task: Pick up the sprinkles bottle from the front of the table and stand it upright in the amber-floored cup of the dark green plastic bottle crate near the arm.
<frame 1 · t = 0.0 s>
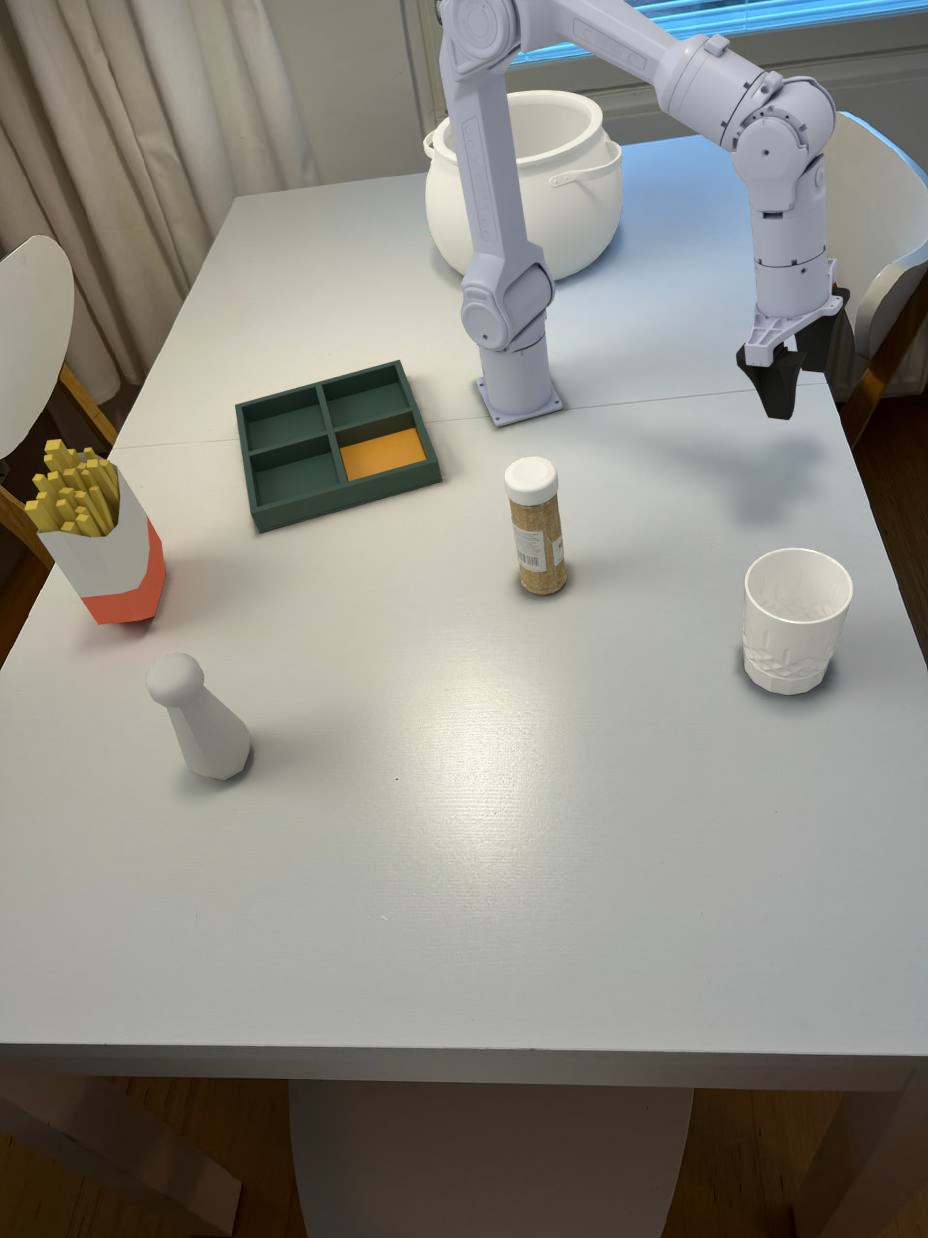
hand: (797, 392, 86), 11 cm above the table, tool pointing down, fingers open, 7 cm apart
french fries container: (143, 599, 96), on the table
sprinkles bottle: (543, 580, 90), on the table
white cup: (783, 665, 80), on the table
crate: (336, 451, 107), on the table
salt shaker: (226, 761, 82), on the table
pot: (528, 248, 131), on the table
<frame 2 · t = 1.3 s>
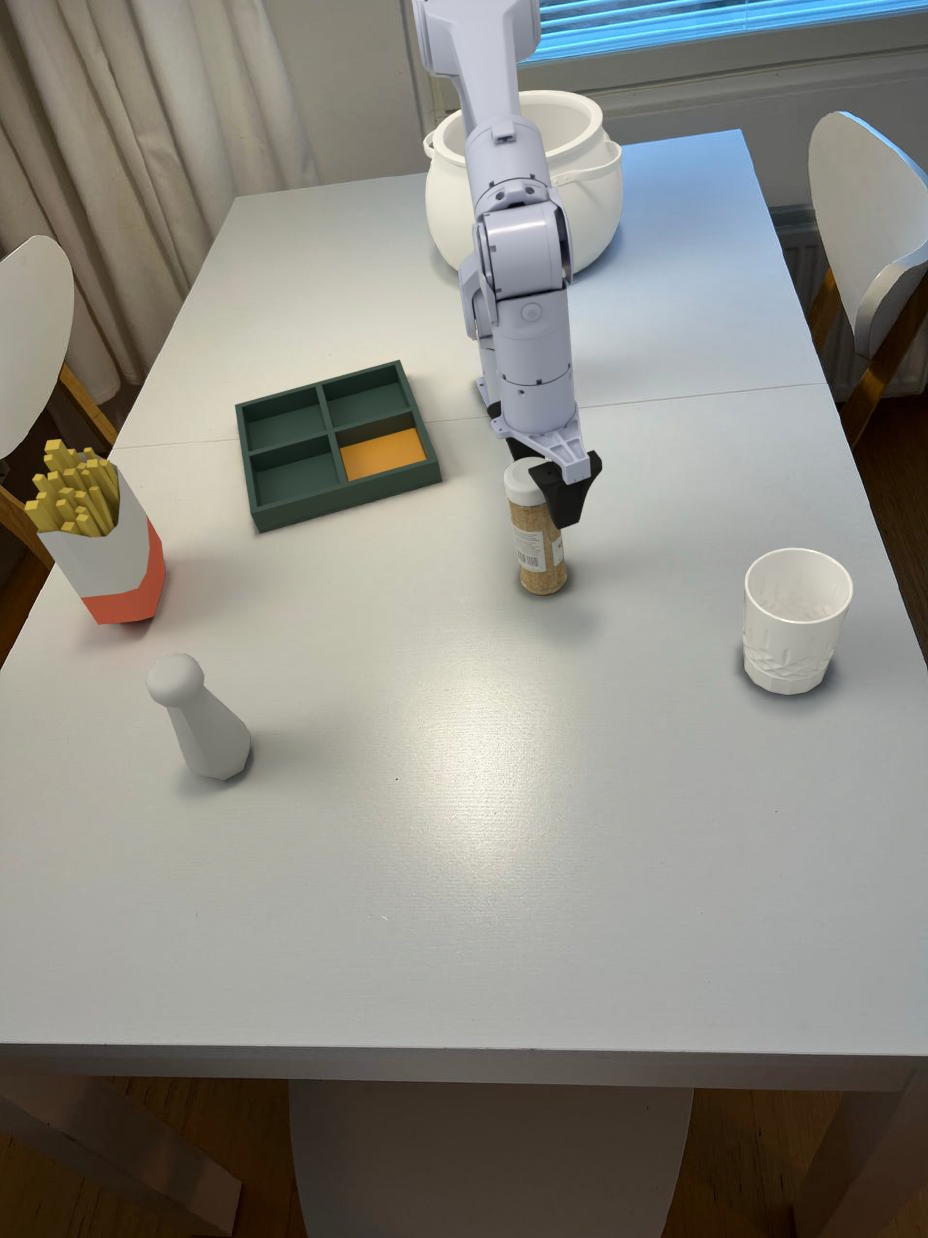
hand: (548, 497, 82), 10 cm above the table, tool pointing down, fingers open, 7 cm apart
nothing on the table moved.
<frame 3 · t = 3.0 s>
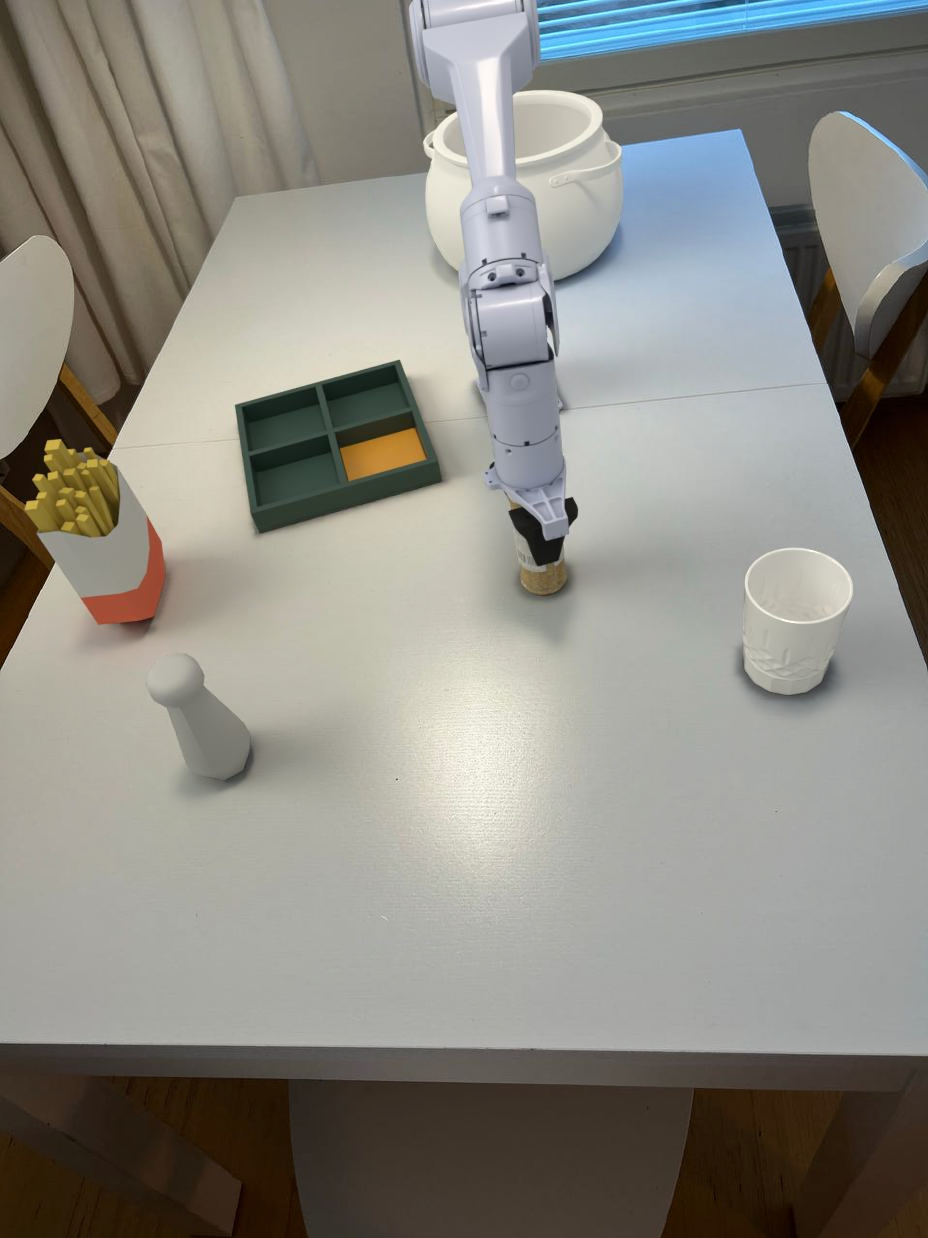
hand: (539, 542, 86), 5 cm above the table, tool pointing down, fingers closed on sprinkles bottle, 4 cm apart
sprinkles bottle: (543, 580, 90), on the table, touching gripper
everything else where it was.
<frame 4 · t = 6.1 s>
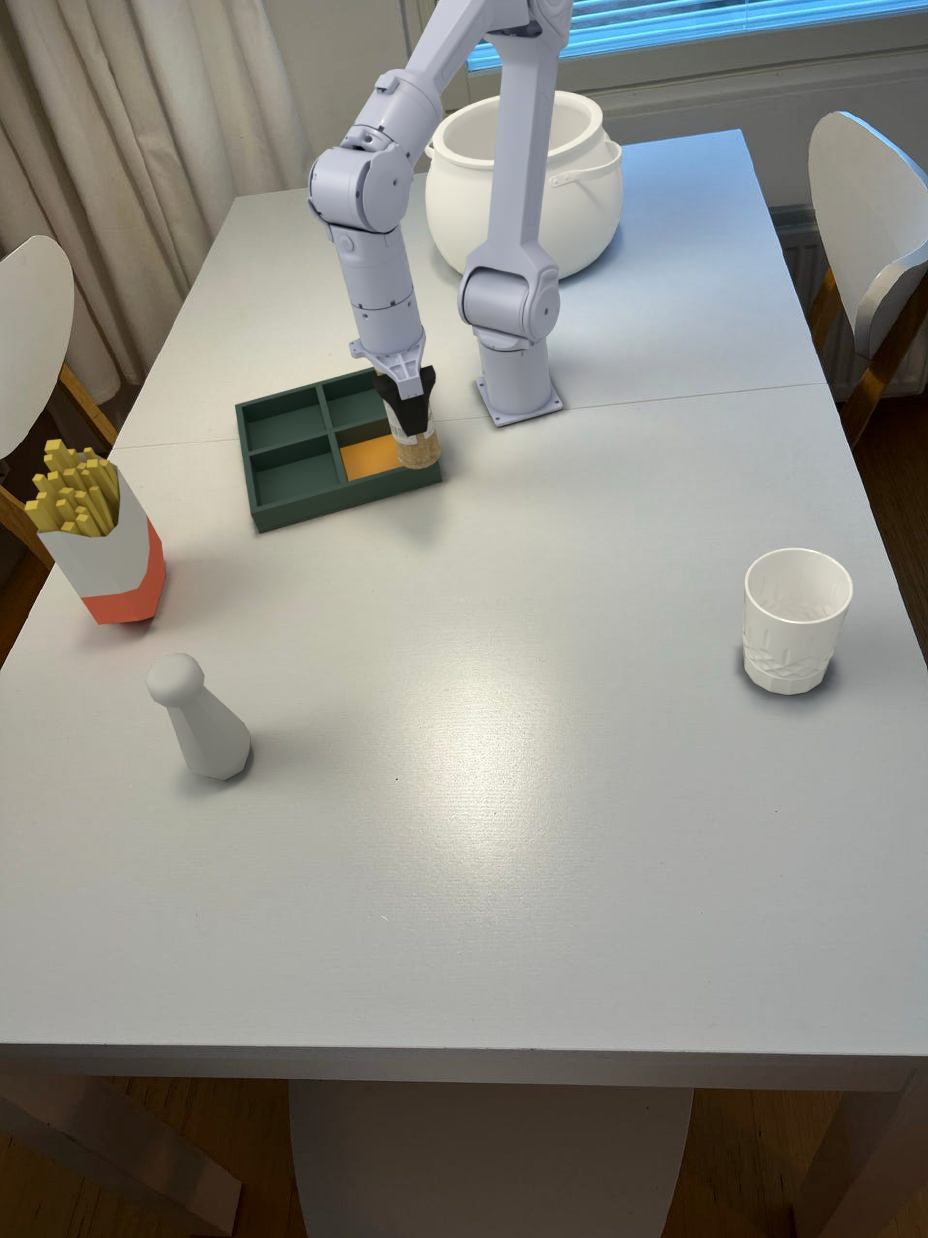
hand: (411, 417, 92), 10 cm above the table, tool pointing down, fingers closed on sprinkles bottle, 4 cm apart
sprinkles bottle: (420, 457, 96), point 5 cm above the table, touching gripper
everything else where it was.
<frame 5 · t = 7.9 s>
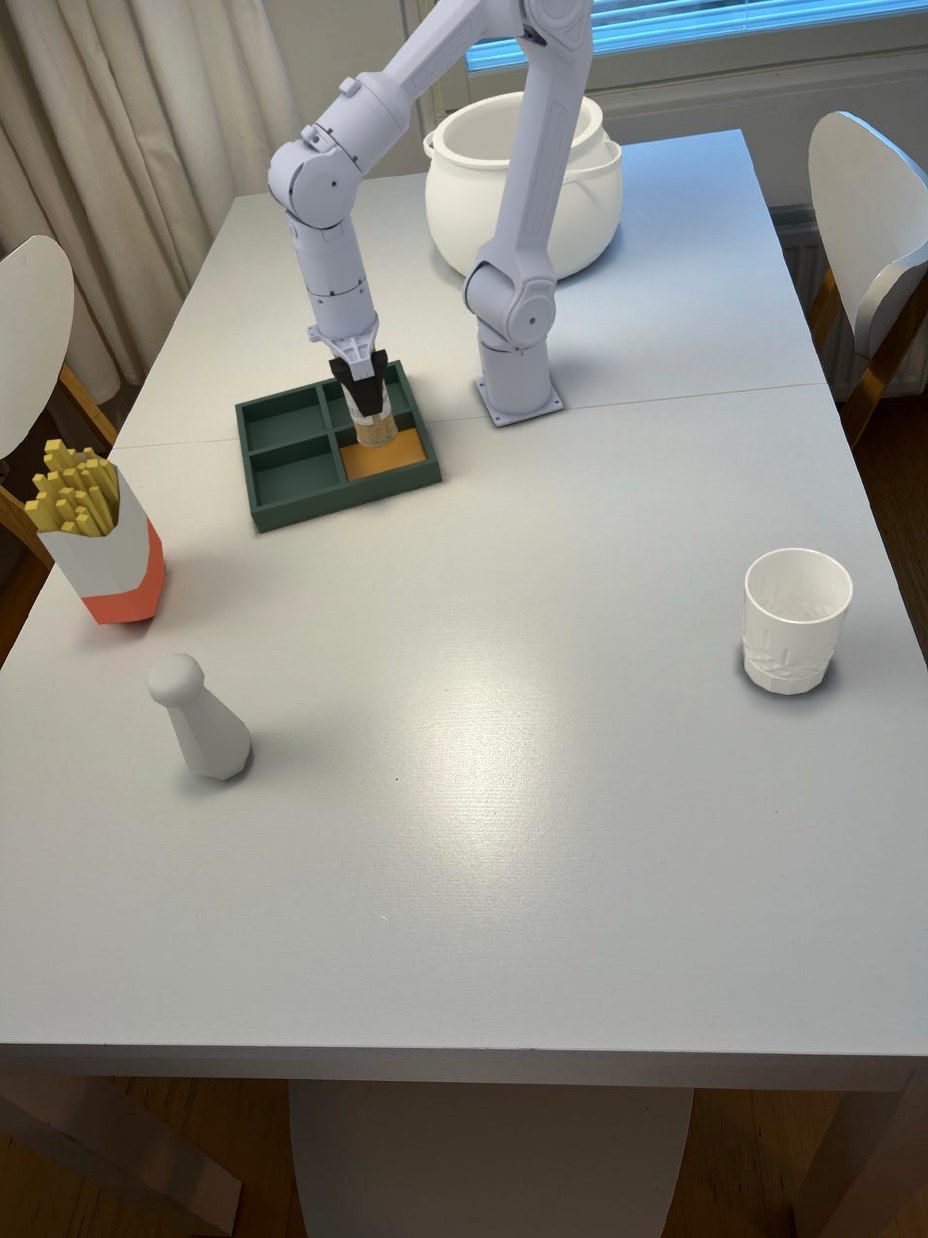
hand: (368, 399, 98), 9 cm above the table, tool pointing down, fingers closed on sprinkles bottle, 4 cm apart
sprinkles bottle: (378, 438, 102), point 4 cm above the table, touching gripper
everything else where it was.
when the fingers open (5 cm above the table, at t = 9.5 s): sprinkles bottle stays where it is, resting on crate.
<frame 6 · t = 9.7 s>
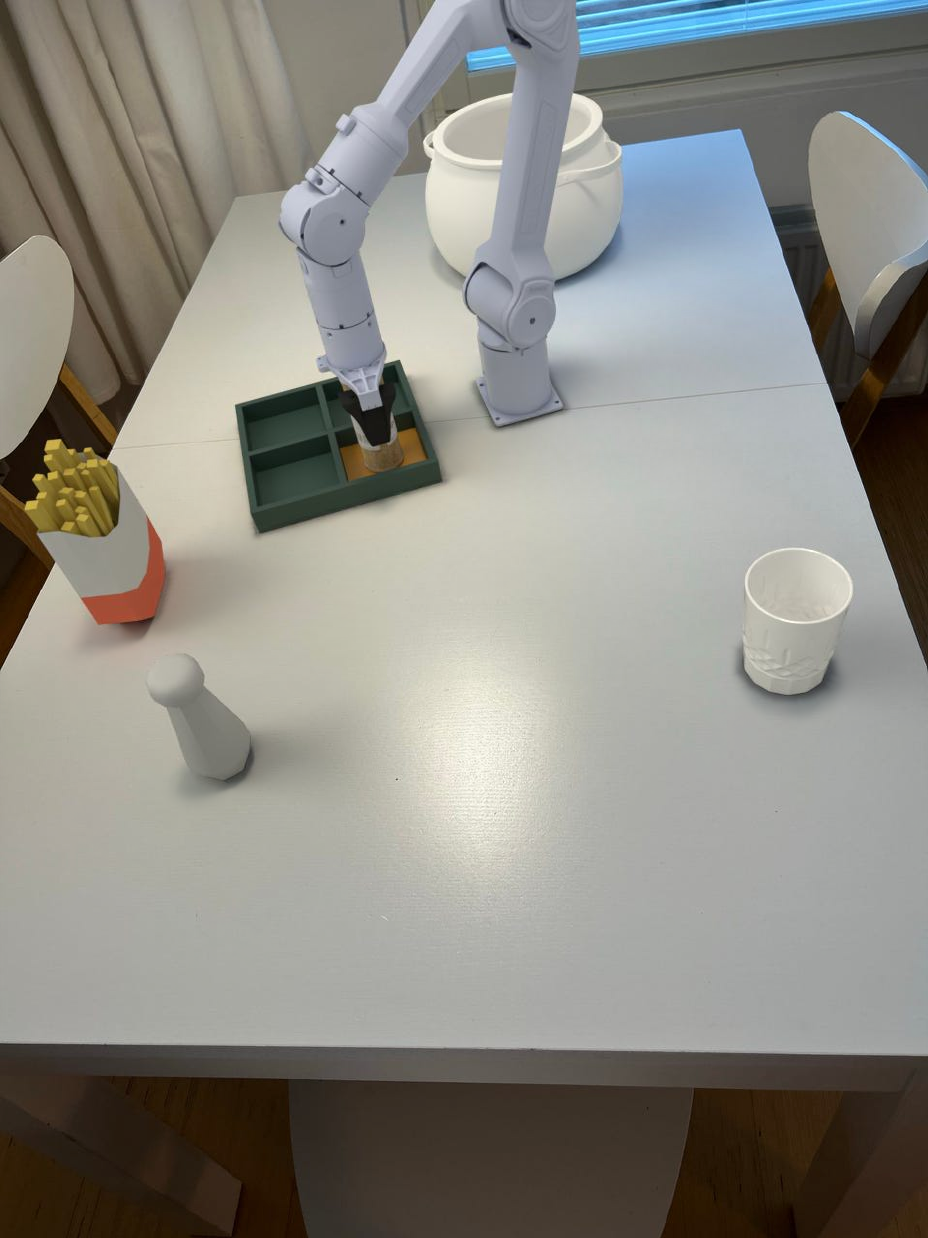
hand: (375, 426, 100), 5 cm above the table, tool pointing down, fingers open, 5 cm apart
sprinkles bottle: (384, 462, 104), resting on crate
everything else where it was.
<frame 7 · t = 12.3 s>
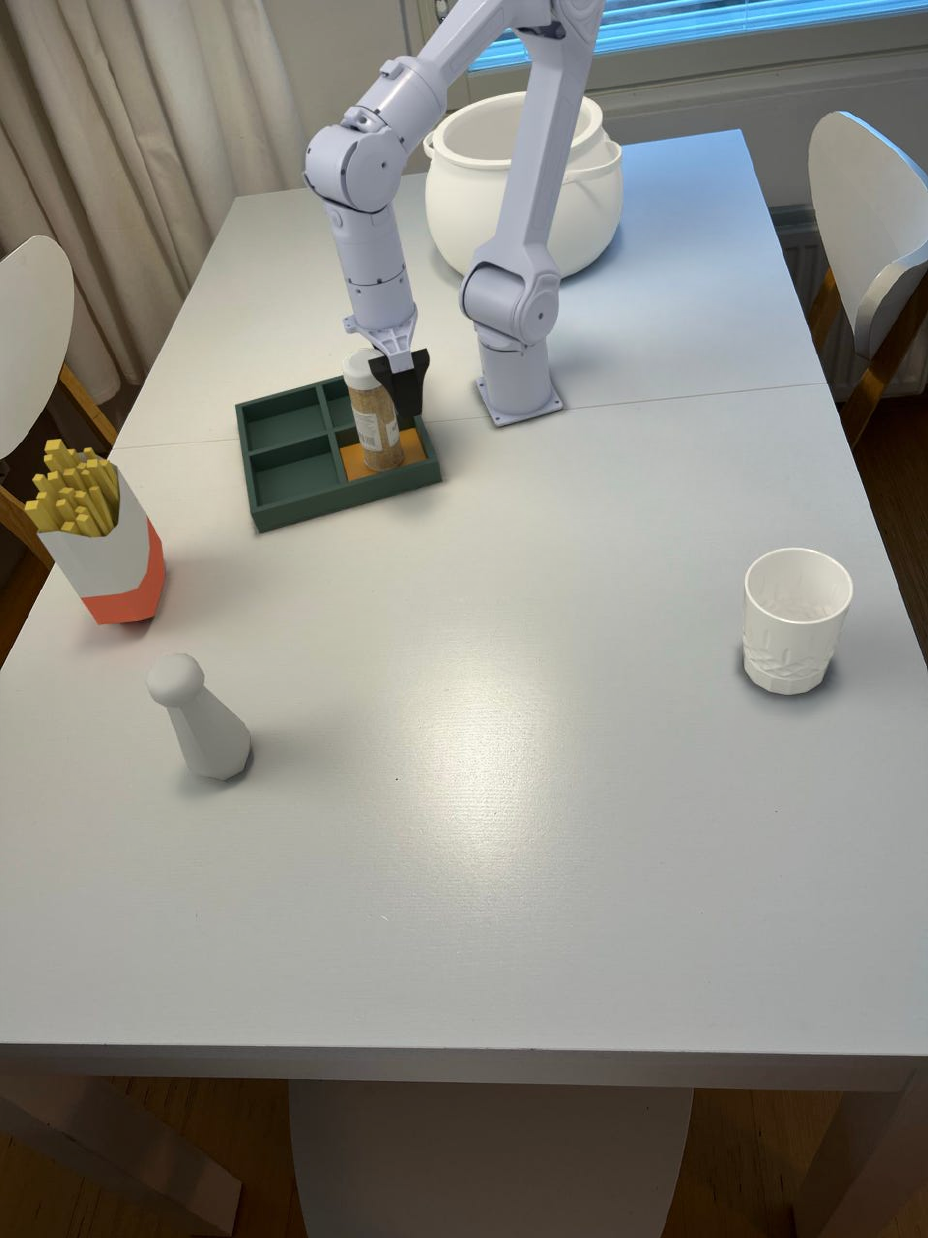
hand: (403, 393, 95), 10 cm above the table, tool pointing down, fingers open, 7 cm apart
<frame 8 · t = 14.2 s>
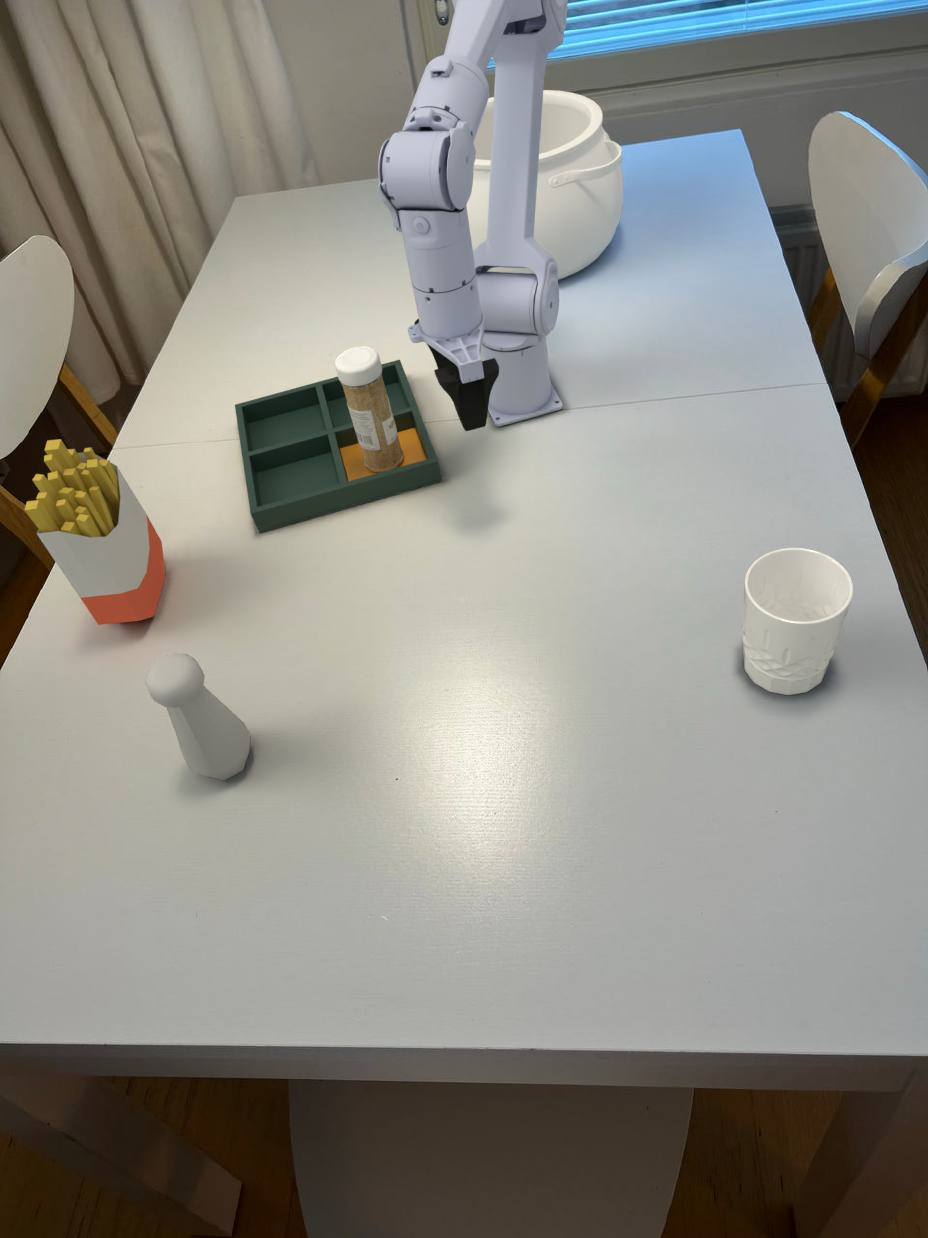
hand: (465, 404, 92), 10 cm above the table, tool pointing down, fingers open, 7 cm apart
at the end: sprinkles bottle 0.1 cm from the target spot in the crate, point 0.4 cm above the crate's base; sprinkles bottle tilted 0°; the gripper is holding nothing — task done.
